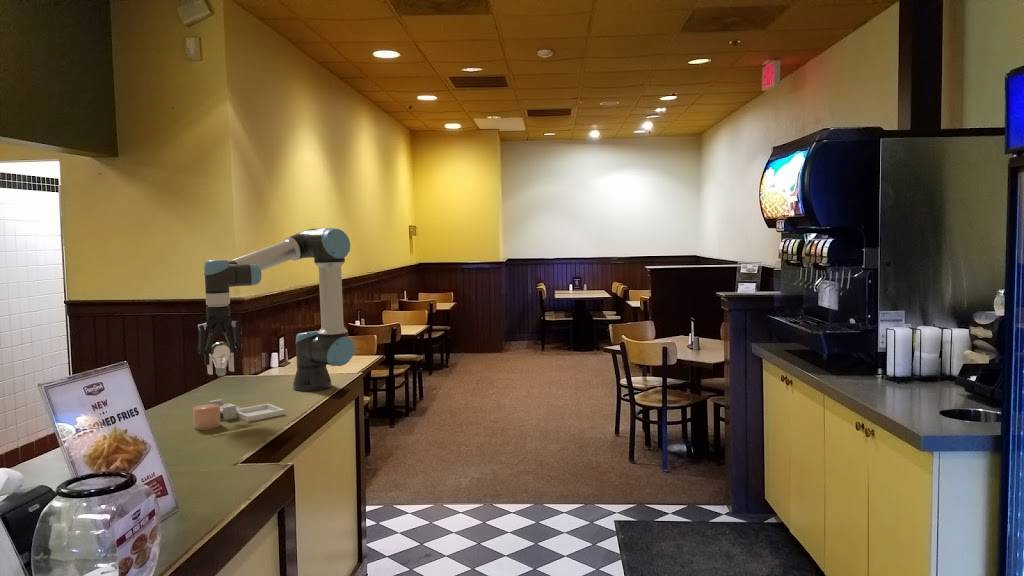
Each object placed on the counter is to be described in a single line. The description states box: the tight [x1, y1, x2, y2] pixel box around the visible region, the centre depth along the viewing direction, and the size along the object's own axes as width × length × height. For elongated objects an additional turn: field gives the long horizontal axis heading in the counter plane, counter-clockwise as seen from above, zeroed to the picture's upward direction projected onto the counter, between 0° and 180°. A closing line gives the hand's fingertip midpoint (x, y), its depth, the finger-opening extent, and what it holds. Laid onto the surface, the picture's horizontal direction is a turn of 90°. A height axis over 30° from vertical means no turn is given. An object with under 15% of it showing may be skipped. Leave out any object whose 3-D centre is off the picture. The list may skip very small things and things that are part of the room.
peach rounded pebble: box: [192, 403, 222, 431], centre depth 229 cm, size 8×8×7 cm
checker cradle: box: [208, 398, 239, 422], centre depth 243 cm, size 10×14×5 cm
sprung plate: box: [220, 403, 242, 414], centre depth 243 cm, size 9×9×1 cm
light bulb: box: [209, 341, 231, 378], centre depth 241 cm, size 7×7×12 cm
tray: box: [237, 403, 286, 423], centre depth 243 cm, size 13×13×2 cm
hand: (221, 372), depth 242 cm, fingers closed on light bulb, 6 cm apart
